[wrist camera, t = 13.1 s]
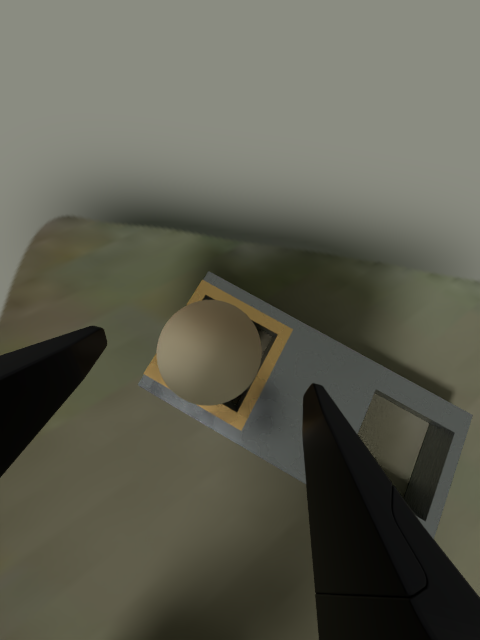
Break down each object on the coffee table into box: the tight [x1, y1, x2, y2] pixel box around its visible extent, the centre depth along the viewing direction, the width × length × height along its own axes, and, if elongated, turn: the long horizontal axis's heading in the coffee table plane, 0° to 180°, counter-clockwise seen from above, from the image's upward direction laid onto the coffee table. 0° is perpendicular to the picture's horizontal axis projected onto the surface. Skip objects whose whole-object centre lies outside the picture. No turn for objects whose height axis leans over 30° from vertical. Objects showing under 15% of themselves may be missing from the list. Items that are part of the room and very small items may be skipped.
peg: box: [157, 300, 262, 406], centre depth 13 cm, size 4×4×10 cm
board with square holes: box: [138, 271, 473, 539], centre depth 17 cm, size 25×11×2 cm, turn 61°
